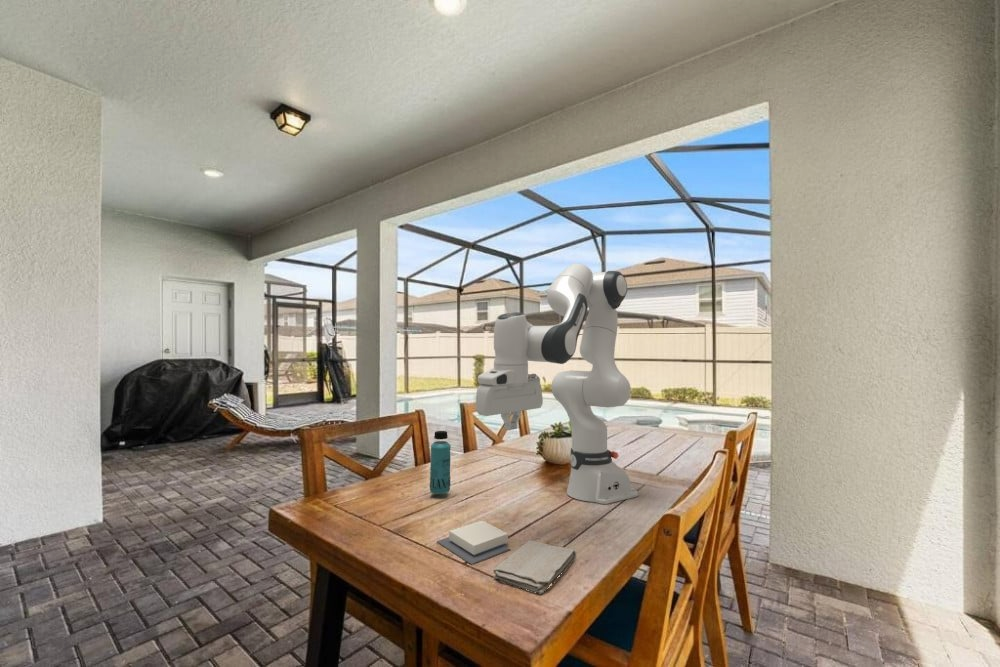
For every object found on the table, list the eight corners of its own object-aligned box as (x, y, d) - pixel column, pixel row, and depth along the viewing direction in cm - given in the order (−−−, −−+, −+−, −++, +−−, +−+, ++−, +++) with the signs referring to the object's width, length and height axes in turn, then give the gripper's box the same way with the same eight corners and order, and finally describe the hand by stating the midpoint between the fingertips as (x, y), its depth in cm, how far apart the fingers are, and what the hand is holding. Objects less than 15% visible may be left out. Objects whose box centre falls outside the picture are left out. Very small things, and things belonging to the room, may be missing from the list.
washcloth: (490, 583, 89) (490, 567, 89) (528, 547, 105) (528, 534, 105) (544, 600, 83) (544, 583, 84) (576, 559, 99) (576, 545, 99)
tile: (482, 520, 112) (449, 530, 106) (508, 533, 105) (473, 545, 98) (482, 530, 112) (448, 541, 106) (507, 544, 105) (473, 557, 98)
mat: (473, 530, 113) (474, 529, 113) (510, 550, 102) (510, 548, 102) (436, 542, 106) (436, 541, 106) (471, 565, 95) (471, 563, 95)
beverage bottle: (425, 497, 137) (426, 432, 137) (436, 490, 143) (437, 428, 143) (444, 500, 134) (444, 434, 135) (454, 493, 141) (454, 430, 141)
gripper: (531, 372, 123) (531, 422, 123) (472, 377, 110) (472, 432, 110) (547, 373, 118) (548, 425, 118) (488, 378, 105) (488, 437, 105)
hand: (511, 429), depth 114 cm, fingers closed
